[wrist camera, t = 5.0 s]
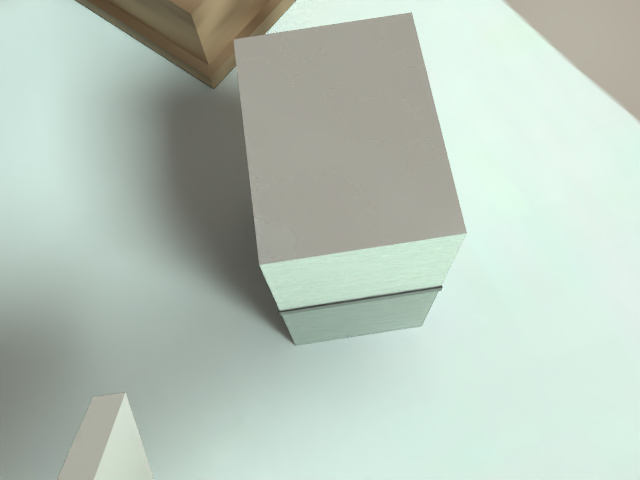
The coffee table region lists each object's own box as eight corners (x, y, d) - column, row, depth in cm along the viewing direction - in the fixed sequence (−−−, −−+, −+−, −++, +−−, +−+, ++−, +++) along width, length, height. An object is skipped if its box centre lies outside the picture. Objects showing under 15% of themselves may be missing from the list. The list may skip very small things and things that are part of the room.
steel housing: (294, 346, 29) (257, 267, 17) (274, 192, 31) (231, 38, 20) (422, 327, 29) (468, 234, 17) (391, 174, 31) (412, 11, 20)
